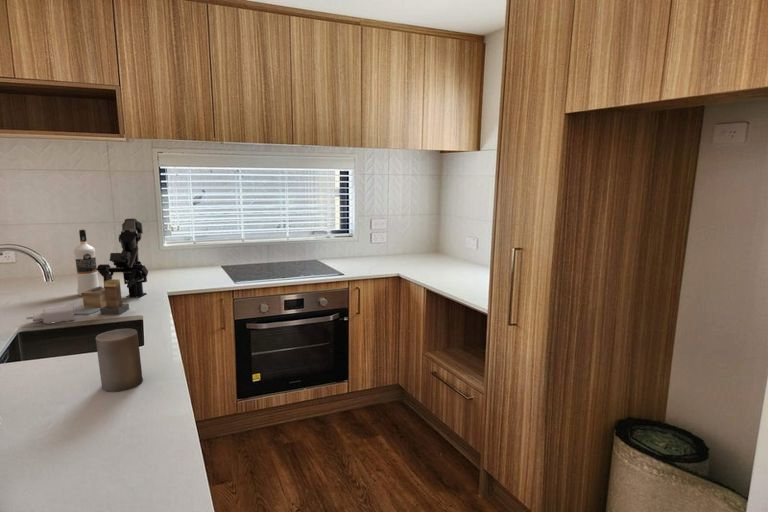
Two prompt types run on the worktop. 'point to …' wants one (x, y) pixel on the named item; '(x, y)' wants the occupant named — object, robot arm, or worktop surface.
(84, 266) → the vodka
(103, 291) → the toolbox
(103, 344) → the pillar candle
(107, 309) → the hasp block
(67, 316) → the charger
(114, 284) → the brown rectangular block
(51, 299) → the worktop surface
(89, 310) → the rubber mat
